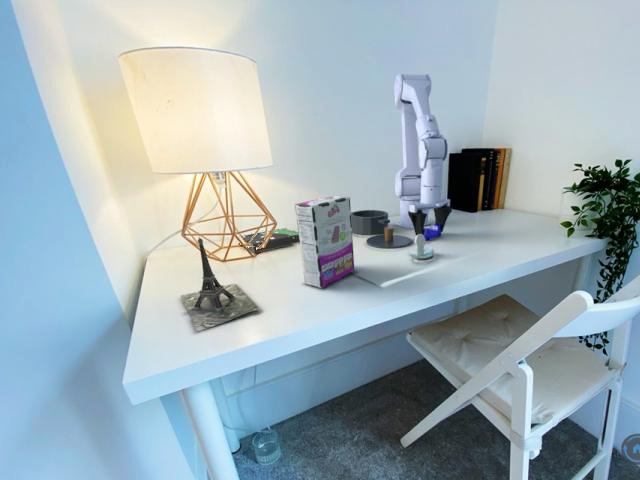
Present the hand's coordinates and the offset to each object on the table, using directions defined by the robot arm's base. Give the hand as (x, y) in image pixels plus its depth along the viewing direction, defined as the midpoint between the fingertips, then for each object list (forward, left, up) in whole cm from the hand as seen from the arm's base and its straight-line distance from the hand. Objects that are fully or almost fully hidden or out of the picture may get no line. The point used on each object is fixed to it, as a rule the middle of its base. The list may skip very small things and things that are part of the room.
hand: (429, 234), depth 99 cm
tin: (+8, -18, -2) cm, 20 cm away
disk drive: (+37, -26, -2) cm, 45 cm away
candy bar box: (+38, +7, -2) cm, 39 cm away
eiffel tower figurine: (+60, +5, -2) cm, 60 cm away
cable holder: (0, 0, -2) cm, 2 cm away
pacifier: (+15, +12, -2) cm, 19 cm away
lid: (+12, -4, -1) cm, 13 cm away
